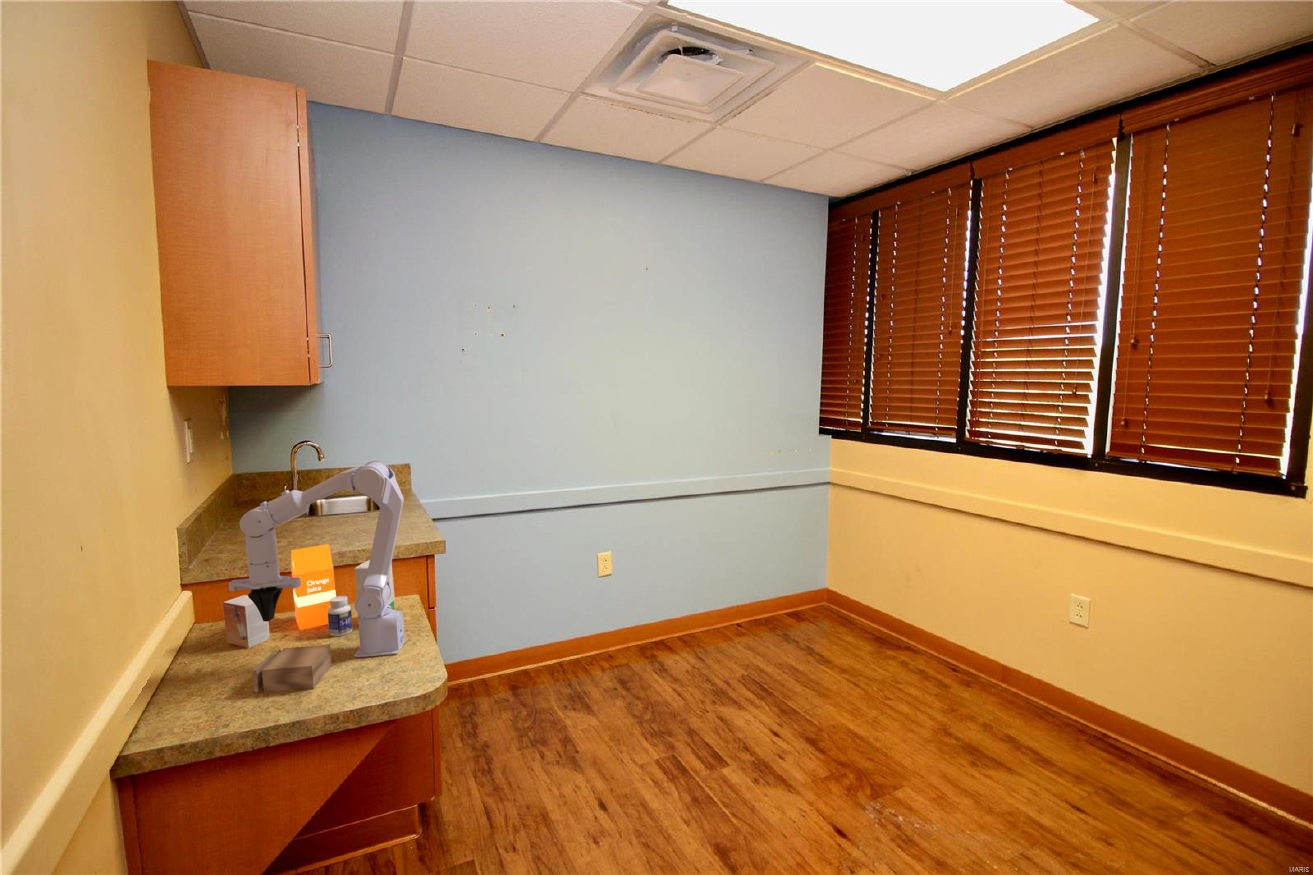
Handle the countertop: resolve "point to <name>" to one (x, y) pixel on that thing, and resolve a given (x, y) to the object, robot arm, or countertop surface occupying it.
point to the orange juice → (313, 585)
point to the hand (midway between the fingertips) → (268, 619)
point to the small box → (244, 622)
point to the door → (258, 671)
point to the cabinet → (296, 669)
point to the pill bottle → (339, 616)
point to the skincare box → (360, 578)
